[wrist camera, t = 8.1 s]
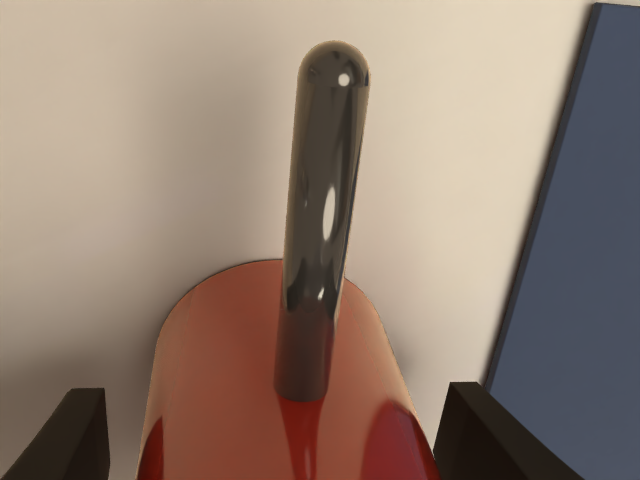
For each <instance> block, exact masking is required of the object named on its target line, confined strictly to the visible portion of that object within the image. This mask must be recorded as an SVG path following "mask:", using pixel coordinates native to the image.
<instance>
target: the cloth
mask: <svg viewBox="0 0 640 480" xmlns="http://www.w3.org/2000/svg"><path fill="white" fill-rule="evenodd" d="M485 390H486V391H487V392H488V393H489V394H491V395H492V396H493V397H494V398H495V399H496V400H497V401H498V402H499V403H500V404H501V405H502V406H503V407H504V408H505V409H506V410H507V411H508V412H509V413H511V414H512V415H513V416H514V417H515V418H516V419H517V420H518V421H519V422H520V423H521V424H522V425H523V426H524V427H525V428H526V429H528V430H529V431H530V432H531V433H532V434H533V435H534V436H535V437H536V438H537V439H538V440H540V441H541V442H542V443H543V444H544V445H545V446H546V447H547V448H548V449H549V450H551V451H552V452H553V453H554V454H555V455H556V456H557V457H559V458H560V459H561V460H562V461H563V462H564V463H566V464H567V465H568V466H569V467H570V468H571V469H573V470H574V471H575V472H576V473H578V474H579V475H580V476H581V477H582V478H584V479H585V480H640V6H630V5H620V4H609V3H599V2H596V3H595V4H594V6H593V10H592V13H591V17H590V20H589V24H588V28H587V31H586V35H585V38H584V42H583V45H582V49H581V52H580V56H579V59H578V63H577V66H576V70H575V73H574V77H573V80H572V84H571V87H570V91H569V94H568V98H567V101H566V105H565V108H564V112H563V115H562V119H561V122H560V126H559V129H558V133H557V136H556V140H555V143H554V147H553V150H552V154H551V157H550V161H549V164H548V168H547V171H546V175H545V178H544V182H543V185H542V189H541V192H540V196H539V199H538V203H537V206H536V210H535V213H534V217H533V220H532V224H531V227H530V231H529V234H528V238H527V241H526V245H525V248H524V252H523V255H522V259H521V263H520V266H519V270H518V273H517V277H516V280H515V284H514V287H513V291H512V294H511V298H510V301H509V305H508V308H507V312H506V315H505V319H504V322H503V326H502V329H501V333H500V336H499V340H498V343H497V347H496V350H495V354H494V357H493V361H492V364H491V368H490V371H489V375H488V378H487V382H486V385H485Z"/></svg>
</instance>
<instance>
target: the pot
mask: <svg viewBox="0 0 640 480" xmlns="http://www.w3.org/2000/svg"><path fill="white" fill-rule="evenodd" d="M370 82H371V74H370V68H369V65H368V63H367V61H366V59H365V57H364V56H363V54H362V53H361V52H360V51H359V50H358V49H357V48H355V47H354V46H352V45H351V44H348V43H346V42H343V41H336V40H333V41H326V42H323V43H320V44H318V45H316V46H315V47H313V48H312V49H311V50H310V51H309V52H308V53H307V54H306V55H305V57H304V58H303V60H302V62H301V64H300V67H299V72H298V79H297V91H296V104H295V116H294V128H293V141H292V153H291V165H290V178H289V190H288V202H287V215H286V227H285V239H284V252H283V260H266V261H258V262H252V263H247V264H243V265H239V266H236V267H232V268H230V269H227V270H225V271H222V272H220V273H217V274H216V275H214V276H212V277H210V278H208V279H206V280H205V281H203V282H202V283H200V284H199V285H197V286H196V287H195V288H193V289H192V290H191V291H189V292H188V293H187V294H186V295H185V296H184V297H183V298H182V299H181V300H180V301H179V302H178V303H177V305H176V306H175V307H174V308H173V309H172V311H171V312H170V314H169V315H168V317H167V319H166V320H165V322H164V324H163V326H162V329H161V331H160V334H159V336H158V341H157V345H156V350H155V356H154V363H153V369H152V375H151V382H150V388H149V394H148V401H147V407H146V413H145V420H144V426H143V432H142V439H141V445H140V451H139V458H138V464H137V470H136V477H135V480H442V477H441V475H440V472H439V470H438V467H437V464H436V462H435V459H434V457H433V454H432V452H431V449H430V446H429V444H428V441H427V439H426V436H425V433H424V431H423V428H422V426H421V423H420V421H419V418H418V415H417V413H416V410H415V408H414V405H413V403H412V400H411V397H410V395H409V392H408V390H407V387H406V384H405V382H404V379H403V377H402V374H401V372H400V369H399V366H398V364H397V361H396V359H395V356H394V354H393V351H392V348H391V346H390V343H389V341H388V338H387V335H386V333H385V330H384V328H383V325H382V323H381V320H380V318H379V315H378V313H377V311H376V309H375V308H374V306H373V304H372V303H371V301H370V300H369V299H368V298H367V297H366V296H365V294H364V293H363V292H362V291H361V290H360V289H359V288H357V287H356V286H355V285H354V284H353V283H351V282H350V281H348V280H347V279H345V278H344V275H345V267H346V260H347V252H348V245H349V238H350V230H351V223H352V216H353V208H354V201H355V193H356V186H357V179H358V171H359V164H360V157H361V149H362V142H363V134H364V127H365V120H366V112H367V105H368V98H369V90H370Z"/></svg>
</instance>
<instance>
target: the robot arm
mask: <svg viewBox="0 0 640 480" xmlns="http://www.w3.org/2000/svg"><path fill="white" fill-rule="evenodd" d="M433 454H434V458H435V462H436V464H437V467H438V470H439V472H440V475H441V477H442V480H585V479H584V478H582V477H581V476H580V475H579V474H578V473H576V472H575V471H574V470H573V469H571V468H570V467H569V466H568V465H567V464H566V463H564V462H563V461H562V460H561V459H560V458H559V457H557V456H556V455H555V454H554V453H553V452H552V451H551V450H549V449H548V448H547V447H546V446H545V445H544V444H543V443H542V442H541V441H540V440H538V439H537V438H536V437H535V436H534V435H533V434H532V433H531V432H530V431H529V430H528V429H526V428H525V427H524V426H523V425H522V424H521V423H520V422H519V421H518V420H517V419H516V418H515V417H514V416H513V415H512V414H511V413H509V412H508V411H507V410H506V409H505V408H504V407H503V406H502V405H501V404H500V403H499V402H498V401H497V400H496V399H495V398H494V397H493V396H492V395H491V394H489V393H488V392H487V391H486V390H485V389H484V388H483V387H482V386H481V385H480V384H478V383H477V382H450V384H449V388H448V392H447V396H446V400H445V404H444V408H443V412H442V416H441V420H440V424H439V428H438V432H437V436H436V440H435V444H434V448H433ZM109 469H110V451H109V439H108V426H107V414H106V402H105V389H104V388H74V389H71V390H70V391H69V392H67V393H66V395H65V396H64V398H63V399H62V401H61V402H60V404H59V405H58V406H57V408H56V409H55V411H54V412H53V413H52V415H51V416H50V418H49V419H48V420H47V422H46V423H45V424H44V426H43V427H42V428H41V430H40V431H39V432H38V434H37V435H36V436H35V438H34V439H33V440H32V442H31V443H30V444H29V445H28V447H27V448H26V449H25V450H24V452H23V453H22V454H21V455H20V456H19V458H18V459H17V460H16V461H15V463H14V464H13V465H12V466H11V468H10V469H9V470H8V471H7V472H6V474H5V475H4V476H3V477H2V478H1V480H108V476H109Z"/></svg>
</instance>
